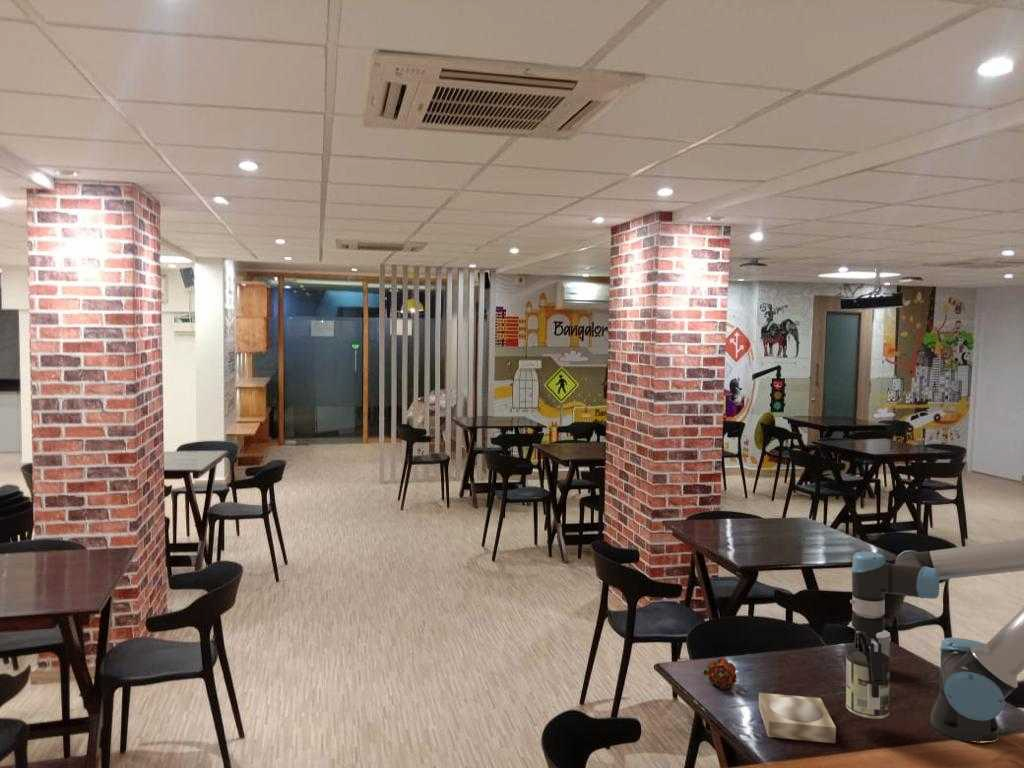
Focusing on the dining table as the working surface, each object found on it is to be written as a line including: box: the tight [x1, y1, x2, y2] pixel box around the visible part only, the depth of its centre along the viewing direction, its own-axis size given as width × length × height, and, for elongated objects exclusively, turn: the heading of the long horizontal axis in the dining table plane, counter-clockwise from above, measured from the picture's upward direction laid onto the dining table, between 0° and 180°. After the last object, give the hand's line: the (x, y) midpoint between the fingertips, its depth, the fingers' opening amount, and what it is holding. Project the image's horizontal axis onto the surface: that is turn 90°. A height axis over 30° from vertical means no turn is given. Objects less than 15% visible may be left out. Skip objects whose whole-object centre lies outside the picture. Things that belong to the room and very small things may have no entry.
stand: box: [758, 692, 837, 744], centre depth 193 cm, size 16×16×4 cm
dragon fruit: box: [702, 657, 738, 690], centre depth 215 cm, size 8×8×12 cm
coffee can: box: [845, 647, 891, 720], centre depth 189 cm, size 10×10×14 cm
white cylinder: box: [876, 629, 891, 658], centre depth 226 cm, size 10×10×12 cm
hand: (867, 698), depth 189 cm, fingers closed on coffee can, 10 cm apart
